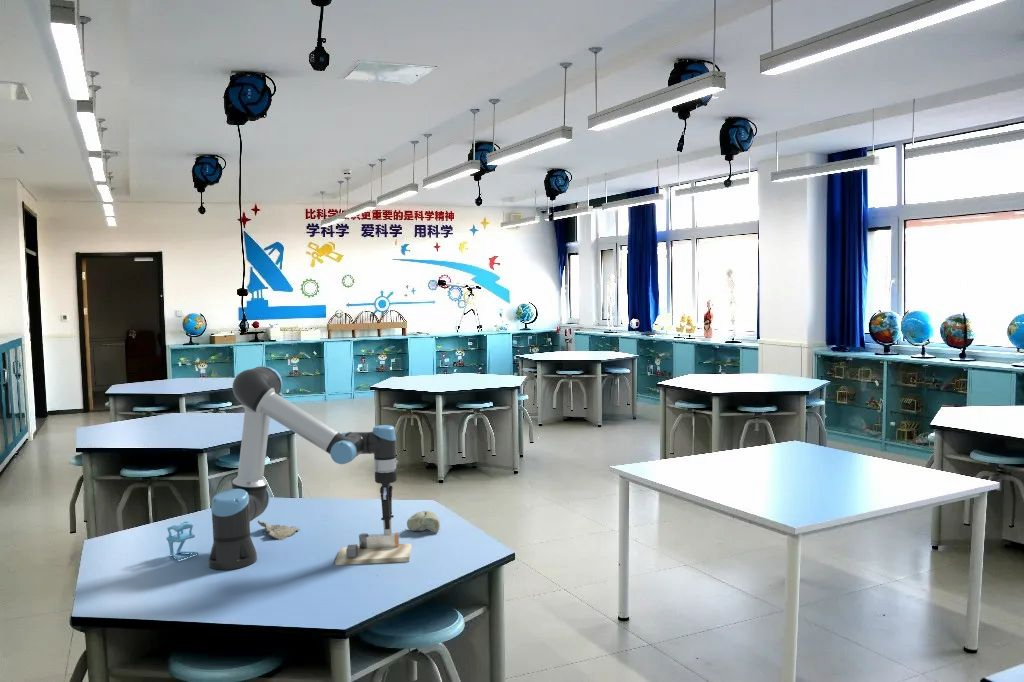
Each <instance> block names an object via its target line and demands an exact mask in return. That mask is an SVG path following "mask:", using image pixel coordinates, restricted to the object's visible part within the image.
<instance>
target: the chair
mask: <svg viewBox="0 0 1024 682" xmlns="http://www.w3.org/2000/svg"><path fill="white" fill-rule="evenodd" d="M193 527H194V524H192V523H191V522H189V521H184V522H182V523H180V524H179V525H176V524H173V525H171V526H168V527H166V529H167V532H168V536H167V537H165V538H166V541H167V543H168V547H169V553H170V554H169V556H170V555H172V556H173V557H175V558H176V559H177V560H181V559H184V558H187V557H190V556H193V555H196V554H198V555H199V552H198V551H190V550H188V551H187V550H186V551H185V550H182V548H183V546H184V544H185V542H186V541H187V540H190V539H194V538H196V537H195V536H196V535H195V534H193V533H192V531H193ZM187 529H189V532H188V533H186V532H185V531H184V530H187ZM171 530H173V531H175V532H176V533H177V534H174V535H172V534H173V533H172V532H171ZM174 543H179V545H178V548H177V550H176V553H175V552H174ZM177 553H189V554H190V555H185V556H182V557H179V556H178V554H177ZM191 553H192V554H191ZM173 557H172V558H173ZM177 560H176V561H177Z"/></svg>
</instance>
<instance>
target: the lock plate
mask: <svg viewBox="0 0 1024 682" xmlns="http://www.w3.org/2000/svg"><path fill="white" fill-rule="evenodd" d="M357 546H358V554H357V556H356V558H350V559H347V556H346V549H347V547H348V546H341V547H340V550H339V551H338V554H337V555H336V558H335V560H334V563H335V564H334V565H335V566H345V565H346V566H347V565H365V564H367V565H368V564H383V563H385V564H388V563H405V562H406V563H407V562H410V558H411V553H412V543H399V547H385V548H366V549H360V548H359V545H357Z"/></svg>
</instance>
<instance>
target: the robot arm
mask: <svg viewBox="0 0 1024 682" xmlns="http://www.w3.org/2000/svg"><path fill="white" fill-rule="evenodd" d="M282 389H283V379H282V376H281V374H280V373H279V372H278V371H277V369H275V368H273V367H270V366H261V365H259V366H257V367H255V368H254V367H253V368H250V369H249V368H248V369H245V370H242V371H241V372H239V373H238V374H237V375H236V376H235V378H234V379H233V383H232V393H233V395H234V397H235V399H236V400H237V401H238V402H239V403H240V405H241V407H242V408H243V409H244V417H243V424H242V425H243V426H242V433H241V434H242V435H241V443H240V444H241V445H240V453H239V462H238V468H237V469H238V471H237V476H236V477H235V478H234V479H232V482H231V489H226V490H224V491H220V492H218V493H216V494H215V495H214V496H213V497H212V499H211V506H210V507H211V508H210V509H211V510H210V511H211V520H212V521H211V522H212V537H213V540H212V541H213V542H212V547H211V550H210V552H209V553H210V554H209V557H208V566H210V567H211V569H214V570H217V569H218V570H219V571H221V570H222V571H228V570H230V571H231V570H234V569H235V570H236V569H240V568H246V567H248V566H250V565H253V564H254V563H256V562H257V560H258V553H257V551H256V547H255V545H254V543H253V541H252V538H251V524H250V523H251V522H252V521H253V520H254V519H256V518H258V517H259V516H261V515H262V514H263V513H264V512H265V511H266V509H267V508H268V506H269V504H270V499H271V498H270V491H269V490H268V489H267V487H268V481H267V480H266V479H265V478H264V473H265V465H266V457H267V447H268V438H269V431H270V430H269V429H270V423H271V422H270V421H271V419H272V420H273V421H275V422H277V423H279V424H280V425H282V426H283V427H285V428H286V429H288V430H290V431H292V432H294V434H297V435H298V436H300V437H301V438H302V439H305V440H306V441H307V442H309V443H311V444H312V445H314V446H316V447H318V448H319V449H321V450H323V452H326V453H327V454H329V455H330V457H331V459H332V461H333V462H334V463H335V464H338V465H346V464H349V463H351V462H352V461H354V459H355V458H356V457H358V456H359V455H367V454H368V455H370V454H371V455H372V454H373V460H374V461H373V465H374V466H373V467H374V469H373V470H374V471H375V472H374V482H375V483H376V484H381V486H380V488H379V493H380V501H381V513H382V514H381V515H382V517H381V518H380V520H381V521H382V523H383V534H391V533H393V520H392V518H394V517H395V516H394V515H392V514H393V507H392V504H393V503H392V500H393V499H392V498H393V488H394V487H393V485H391V484H393V483H395V482H397V481H398V475H397V474H398V471H397V470H396V469H397V464H398V463H399V460H397V449H396V447H397V445H396V443H397V442H396V441H397V438H396V430H395V426H393V425H389V424H383V425H382V424H381V425H375V426H374V427H373V428H372V431H360V432H359V431H357V432H356V431H347V432H341V433H340V432H339V431H337V430H336V429H334V428H333V427H331V426H330V425H328V424H326V423H325V422H323V421H321V420H320V419H318V418H316V417H315V416H313V415H311V414H310V413H308V412H306V411H305V410H303V409H302V408H300V407H299V406H298V405H295V404H294V403H292V402H290V401H289V400H288V399H285V398H284V397H282V396H280V393H281V392H282ZM210 567H209V568H210Z"/></svg>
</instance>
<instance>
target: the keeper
mask: <svg viewBox="0 0 1024 682" xmlns="http://www.w3.org/2000/svg"><path fill="white" fill-rule="evenodd" d="M358 546H359V545H358V544H348V545H347V546H346V547H347V549H346V556H347V559H350V558H356V556H357V554H358Z"/></svg>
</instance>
